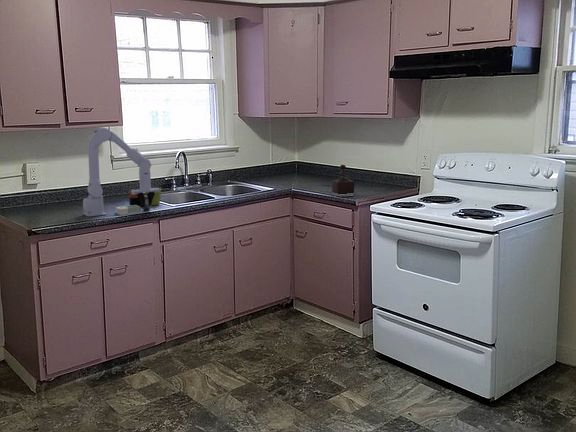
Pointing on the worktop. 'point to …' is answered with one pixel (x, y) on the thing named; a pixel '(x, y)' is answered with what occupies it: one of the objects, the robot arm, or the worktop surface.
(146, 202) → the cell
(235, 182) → the worktop surface
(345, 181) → the brown bottle
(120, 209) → the charger
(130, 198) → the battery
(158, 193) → the plant pot
